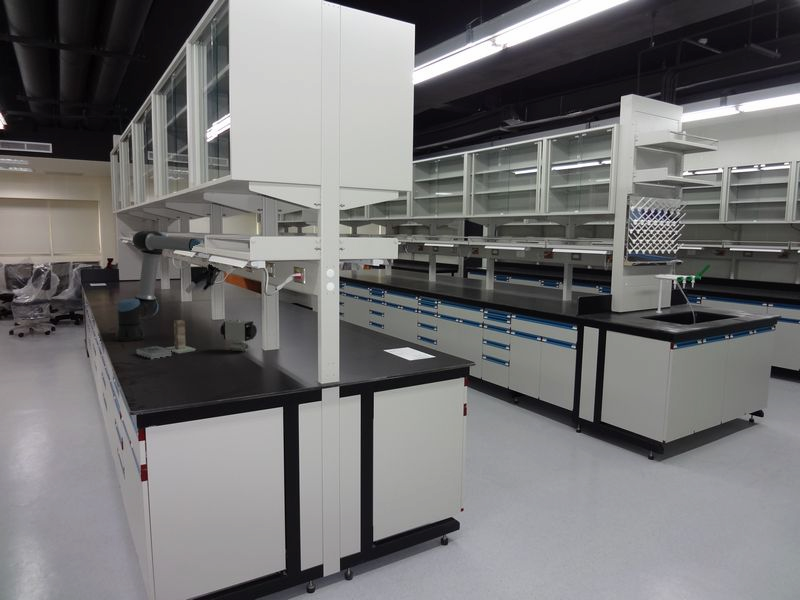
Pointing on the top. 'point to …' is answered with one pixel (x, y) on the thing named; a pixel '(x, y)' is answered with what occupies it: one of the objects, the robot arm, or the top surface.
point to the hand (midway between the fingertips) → (193, 292)
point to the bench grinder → (238, 333)
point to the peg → (179, 334)
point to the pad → (181, 349)
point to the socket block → (154, 352)
